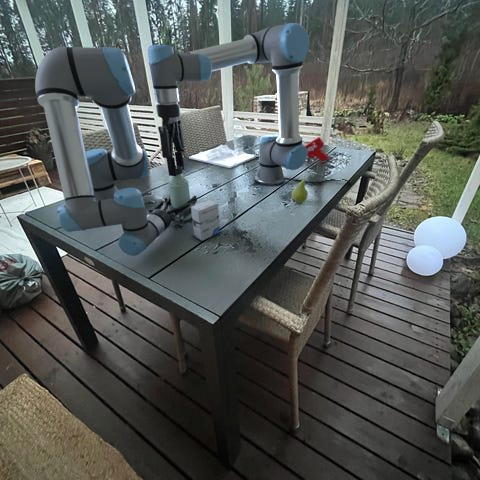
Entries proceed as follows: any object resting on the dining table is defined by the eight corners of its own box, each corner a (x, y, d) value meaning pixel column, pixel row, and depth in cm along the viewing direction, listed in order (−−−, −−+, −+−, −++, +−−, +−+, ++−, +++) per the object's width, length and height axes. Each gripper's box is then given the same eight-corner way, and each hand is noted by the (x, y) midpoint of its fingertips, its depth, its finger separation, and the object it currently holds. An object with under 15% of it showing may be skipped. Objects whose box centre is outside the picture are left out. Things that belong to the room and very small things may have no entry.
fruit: (288, 200, 123) (290, 174, 116) (302, 197, 125) (305, 172, 119) (296, 206, 118) (299, 179, 111) (310, 203, 120) (314, 177, 114)
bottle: (195, 213, 113) (189, 166, 102) (187, 222, 107) (181, 172, 96) (178, 211, 114) (171, 164, 104) (170, 219, 108) (162, 170, 98)
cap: (172, 171, 102) (171, 165, 101) (183, 171, 102) (182, 165, 101) (170, 175, 99) (169, 168, 98) (181, 174, 99) (180, 168, 98)
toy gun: (332, 156, 168) (319, 135, 164) (331, 158, 165) (319, 137, 161) (306, 172, 178) (294, 152, 174) (305, 174, 175) (293, 154, 171)
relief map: (230, 168, 162) (230, 159, 159) (189, 158, 180) (188, 150, 177) (256, 157, 180) (256, 149, 177) (216, 149, 198) (215, 142, 195)
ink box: (211, 227, 103) (209, 198, 96) (220, 232, 100) (219, 203, 93) (193, 236, 98) (190, 206, 91) (202, 241, 95) (199, 210, 88)
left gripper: (132, 228, 97) (166, 202, 116) (183, 237, 92) (210, 208, 110) (128, 209, 93) (163, 186, 112) (181, 217, 88) (208, 191, 106)
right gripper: (169, 100, 97) (177, 164, 109) (141, 106, 81) (155, 180, 93) (189, 100, 95) (195, 165, 108) (165, 107, 80) (175, 182, 92)
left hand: (186, 197), depth 111 cm, fingers closed on bottle, 8 cm apart
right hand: (176, 172), depth 101 cm, fingers open, 6 cm apart
